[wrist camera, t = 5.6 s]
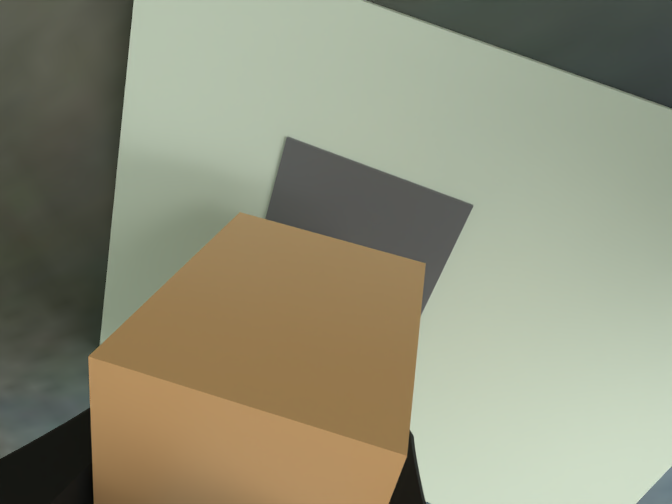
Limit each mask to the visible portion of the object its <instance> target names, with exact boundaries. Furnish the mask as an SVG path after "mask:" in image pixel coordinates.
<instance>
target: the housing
mask: <svg viewBox="0 0 672 504" xmlns="http://www.w3.org/2000/svg"><path fill="white" fill-rule="evenodd" d="M425 266H426V263H423V262H419V261H416V260H412V259H408V258H405V257H401V256H397V255H394V254H390V253H387V252H383V251H379V250H376V249H372V248H368V247H365V246H361V245H358V244H354V243H350V242H347V241H343V240H339V239H336V238H332V237H328V236H325V235H321V234H318V233H314V232H310V231H307V230H303V229H299V228H296V227H292V226H289V225H285V224H281V223H278V222H274V221H270V220H267V219H263V218H260V217H256V216H252V215H249V214H245V213H241V212H239V213H238V214H237V215H236V216H235V217H234V218H233V219H232V220H231V221H230V222H229V223H228V224H227V225H226V226H225V227H224V228H223V229H222V230H221V231H220V232H218V233H217V234H216V235H215V236H214V237H213V238H212V239H211V240H210V241H209V242H208V243H207V244H206V245H205V246H204V247H203V248H202V249H201V250H200V251H199V252H197V253H196V254H195V255H194V256H193V257H192V258H191V259H190V260H189V261H188V262H187V263H186V264H185V265H184V266H183V267H182V268H181V269H180V270H179V271H178V272H176V273H175V274H174V275H173V276H172V277H171V278H170V279H169V280H168V281H167V282H166V283H165V284H164V285H163V286H162V287H161V288H160V289H159V290H158V291H157V292H155V293H154V294H153V295H152V296H151V297H150V298H149V299H148V300H147V301H146V302H145V303H144V304H143V305H142V306H141V307H140V308H139V309H138V310H137V311H136V312H134V313H133V314H132V315H131V316H130V317H129V318H128V319H127V320H126V321H125V322H124V323H123V324H122V325H121V326H120V327H119V328H118V329H117V330H116V331H115V332H113V333H112V334H111V335H110V336H109V337H108V338H107V339H106V340H105V341H104V342H103V343H102V344H101V345H100V346H99V347H98V348H97V349H96V350H95V351H94V352H92V353H91V354H90V355H89V356H88V360H89V388H90V415H91V442H92V469H93V496H94V504H389V502H390V499H391V496H392V494H393V491H394V489H395V486H396V483H397V481H398V478H399V476H400V473H401V470H402V468H403V465H404V463H405V460H406V458H407V452H408V442H409V431H410V421H411V411H412V400H413V390H414V380H415V369H416V359H417V349H418V339H419V328H420V318H421V308H422V297H423V287H424V277H425Z"/></svg>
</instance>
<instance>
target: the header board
mask: <svg viewBox="0 0 672 504" xmlns="http://www.w3.org/2000/svg"><path fill="white" fill-rule="evenodd" d="M239 212H241V213H245V214H249V215H252V216H256V217H260V218H263V219H267V220H270V221H274V222H278V223H281V224H285V225H289V226H292V227H296V228H299V229H303V230H307V231H310V232H314V233H318V234H321V235H325V236H328V237H332V238H336V239H339V240H343V241H347V242H350V243H354V244H358V245H361V246H365V247H368V248H372V249H376V250H379V251H383V252H387V253H390V254H394V255H397V256H401V257H405V258H408V259H412V260H416V261H419V262H423V263H426V266H425V277H424V287H423V297H422V308H421V318H420V328H419V339H418V349H417V359H416V369H415V380H414V390H413V400H412V411H411V421H410V431H411V432H412V434H413V436H414V443H415V450H416V457H417V463H418V468H419V474H420V479H421V483H422V488H423V493H424V497H425V501H426V502H429V503H432V504H636V503H637V502H638V501H639V500H640V499H641V498H642V497H643V495H644V494H645V493H646V492H647V491H648V490H649V489H650V488H651V487H652V486H653V485H654V484H655V483H656V482H657V481H658V480H659V479H660V478H661V477H662V476H663V474H664V473H665V472H666V471H667V470H668V469H669V468H670V467H671V466H672V108H669V107H667V106H664V105H661V104H658V103H655V102H652V101H650V100H647V99H644V98H641V97H638V96H635V95H633V94H630V93H627V92H624V91H621V90H618V89H616V88H613V87H610V86H607V85H604V84H601V83H599V82H596V81H593V80H590V79H587V78H584V77H582V76H579V75H576V74H573V73H570V72H567V71H565V70H562V69H559V68H556V67H553V66H550V65H548V64H545V63H542V62H539V61H536V60H533V59H531V58H528V57H525V56H522V55H519V54H517V53H514V52H511V51H508V50H505V49H502V48H500V47H497V46H494V45H491V44H488V43H485V42H483V41H480V40H477V39H474V38H471V37H468V36H466V35H463V34H460V33H457V32H454V31H451V30H449V29H446V28H443V27H440V26H437V25H434V24H432V23H429V22H426V21H423V20H420V19H417V18H415V17H412V16H409V15H406V14H403V13H400V12H398V11H395V10H392V9H389V8H386V7H384V6H381V5H378V4H375V3H372V2H369V1H367V0H134V4H133V14H132V24H131V34H130V44H129V54H128V64H127V74H126V84H125V95H124V105H123V115H122V125H121V135H120V145H119V155H118V165H117V175H116V185H115V195H114V206H113V216H112V226H111V236H110V246H109V256H108V266H107V276H106V286H105V296H104V306H103V316H102V327H101V337H100V345H101V344H102V343H103V342H104V341H105V340H106V339H107V338H108V337H109V336H110V335H111V334H112V333H113V332H115V331H116V330H117V329H118V328H119V327H120V326H121V325H122V324H123V323H124V322H125V321H126V320H127V319H128V318H129V317H130V316H131V315H132V314H133V313H134V312H136V311H137V310H138V309H139V308H140V307H141V306H142V305H143V304H144V303H145V302H146V301H147V300H148V299H149V298H150V297H151V296H152V295H153V294H154V293H155V292H157V291H158V290H159V289H160V288H161V287H162V286H163V285H164V284H165V283H166V282H167V281H168V280H169V279H170V278H171V277H172V276H173V275H174V274H175V273H176V272H178V271H179V270H180V269H181V268H182V267H183V266H184V265H185V264H186V263H187V262H188V261H189V260H190V259H191V258H192V257H193V256H194V255H195V254H196V253H197V252H199V251H200V250H201V249H202V248H203V247H204V246H205V245H206V244H207V243H208V242H209V241H210V240H211V239H212V238H213V237H214V236H215V235H216V234H217V233H218V232H220V231H221V230H222V229H223V228H224V227H225V226H226V225H227V224H228V223H229V222H230V221H231V220H232V219H233V218H234V217H235V216H236V215H237V214H238V213H239Z"/></svg>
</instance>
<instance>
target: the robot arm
mask: <svg viewBox="0 0 672 504" xmlns="http://www.w3.org/2000/svg"><path fill="white" fill-rule="evenodd" d="M0 504H94V496H93V469H92V442H91V415H90V408H88V409H87V410H85V411H84V412H82V413H80V414H79V415H77V416H76V417H74V418H72V419H71V420H69V421H67V422H66V423H64V424H62V425H60V426H59V427H57V428H55V429H53V430H52V431H50V432H48V433H46V434H45V435H43V436H41V437H39V438H38V439H36V440H34V441H32V442H31V443H29V444H27V445H25V446H23V447H22V448H20V449H18V450H16V451H14V452H12V453H10V454H8V455H7V456H5V457H3V458H1V459H0ZM389 504H426V501H425V497H424V493H423V488H422V483H421V479H420V474H419V468H418V463H417V457H416V450H415V443H414V436H413V434H412V432H411V431H409V442H408V452H407V458H406V460H405V463H404V465H403V468H402V470H401V473H400V476H399V478H398V481H397V483H396V486H395V489H394V491H393V494H392V496H391V499H390V502H389Z"/></svg>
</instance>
